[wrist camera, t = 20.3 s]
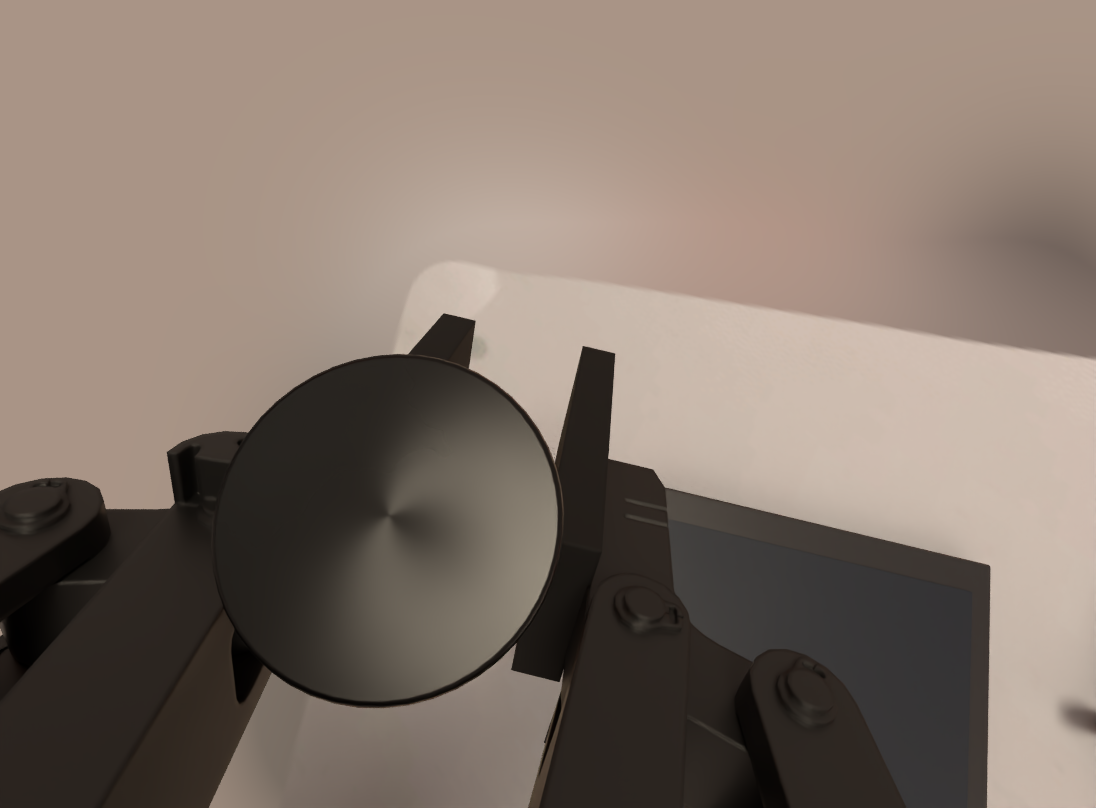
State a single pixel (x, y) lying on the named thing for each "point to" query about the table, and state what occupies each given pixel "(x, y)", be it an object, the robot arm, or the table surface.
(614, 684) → the robot arm
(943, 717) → the tablet
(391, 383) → the copper cylinder
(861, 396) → the table surface
